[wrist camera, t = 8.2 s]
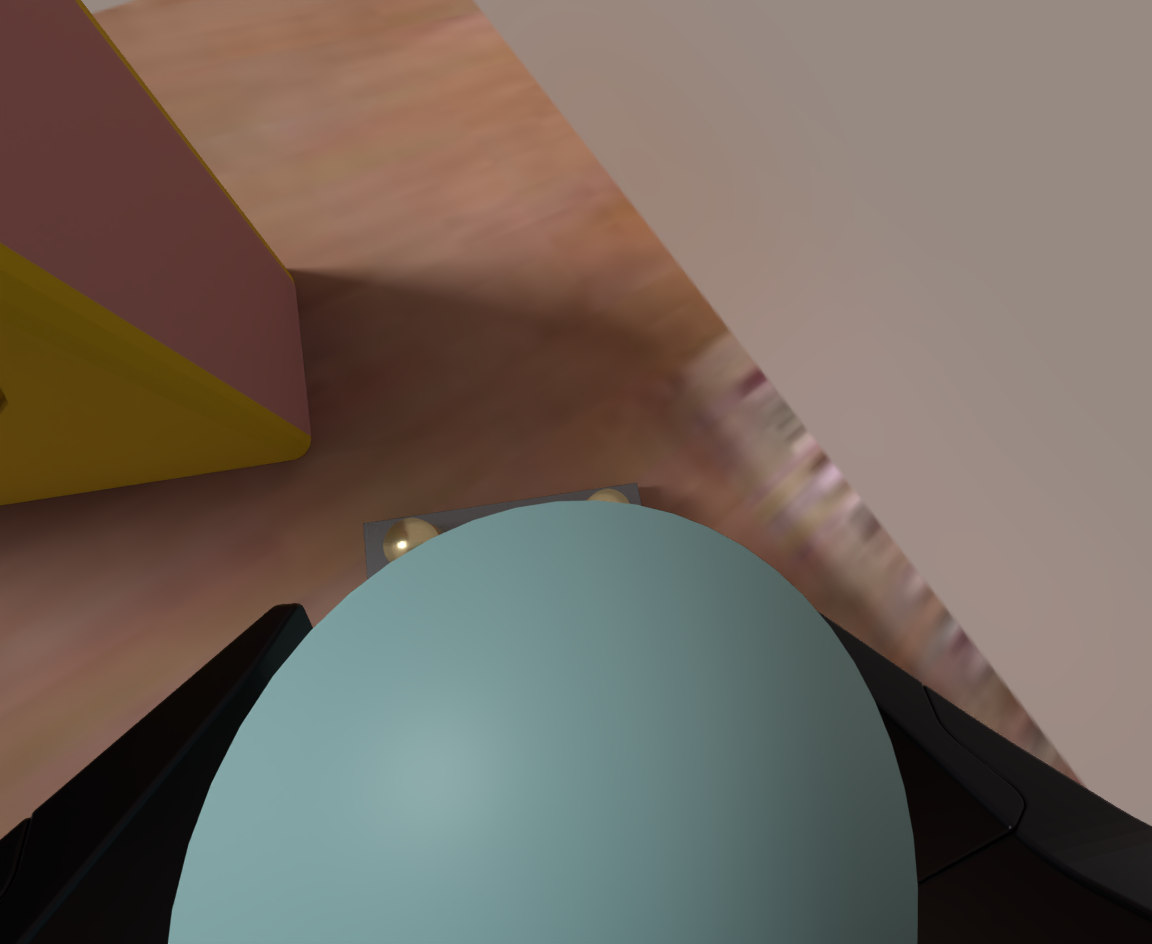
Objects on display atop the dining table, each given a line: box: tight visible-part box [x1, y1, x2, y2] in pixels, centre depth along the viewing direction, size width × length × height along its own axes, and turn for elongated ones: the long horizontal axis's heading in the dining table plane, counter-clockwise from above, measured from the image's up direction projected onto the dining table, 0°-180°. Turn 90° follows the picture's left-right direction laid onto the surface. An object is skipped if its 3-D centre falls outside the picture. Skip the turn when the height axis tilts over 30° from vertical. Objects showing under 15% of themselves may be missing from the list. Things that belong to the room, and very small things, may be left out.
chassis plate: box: [363, 483, 642, 579], centre depth 14 cm, size 21×11×4 cm, turn 10°
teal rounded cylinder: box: [168, 500, 918, 944], centre depth 9 cm, size 6×6×13 cm
